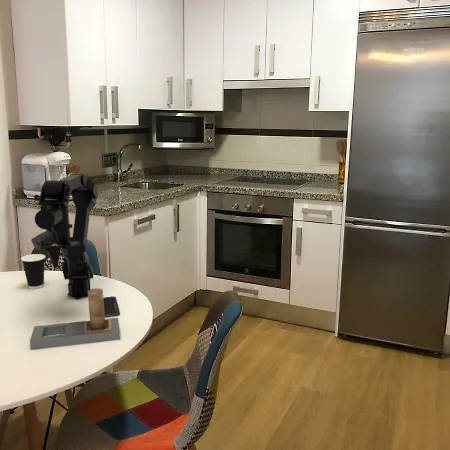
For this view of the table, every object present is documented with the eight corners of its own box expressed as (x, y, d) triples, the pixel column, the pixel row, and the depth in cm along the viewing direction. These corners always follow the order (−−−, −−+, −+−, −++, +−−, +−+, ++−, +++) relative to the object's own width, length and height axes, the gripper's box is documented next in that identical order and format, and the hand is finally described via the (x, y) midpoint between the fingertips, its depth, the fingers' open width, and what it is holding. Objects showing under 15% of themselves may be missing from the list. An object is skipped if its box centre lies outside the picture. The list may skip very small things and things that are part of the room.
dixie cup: (51, 286, 171) (49, 257, 169) (29, 292, 166) (26, 262, 164) (42, 281, 177) (39, 252, 174) (20, 286, 172) (17, 257, 169)
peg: (96, 330, 137) (93, 287, 134) (108, 332, 136) (105, 289, 133) (88, 336, 133) (84, 292, 130) (100, 338, 132) (97, 294, 129)
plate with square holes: (30, 349, 126) (29, 339, 125) (34, 334, 134) (33, 325, 134) (120, 339, 132) (119, 329, 131) (118, 325, 140) (118, 316, 140)
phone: (93, 316, 144) (91, 298, 158) (94, 320, 145) (92, 301, 159) (120, 313, 147) (116, 295, 161) (120, 316, 147) (116, 299, 161)
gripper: (18, 221, 145) (23, 270, 148) (50, 231, 133) (55, 284, 136) (52, 215, 153) (56, 262, 156) (85, 224, 141) (89, 274, 145)
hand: (63, 270), depth 148 cm, fingers open, 9 cm apart
